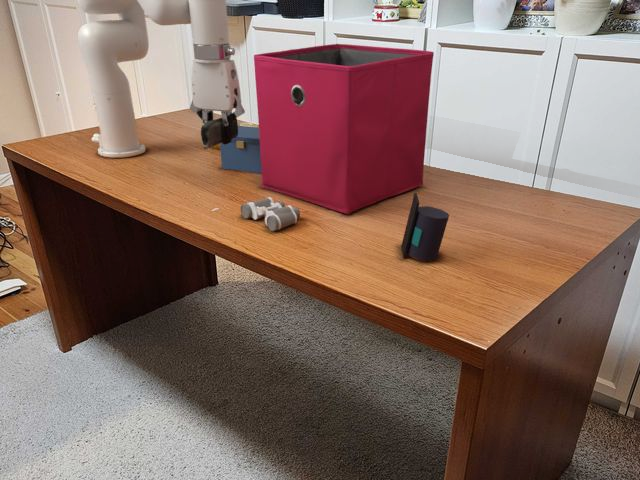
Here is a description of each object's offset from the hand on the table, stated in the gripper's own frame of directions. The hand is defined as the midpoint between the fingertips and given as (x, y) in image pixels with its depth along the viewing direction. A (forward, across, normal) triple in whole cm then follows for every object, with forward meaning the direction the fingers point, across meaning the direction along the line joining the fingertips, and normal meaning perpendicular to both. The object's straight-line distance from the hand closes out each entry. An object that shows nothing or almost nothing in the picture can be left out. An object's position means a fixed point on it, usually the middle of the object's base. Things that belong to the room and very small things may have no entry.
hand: (219, 141), depth 135 cm
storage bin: (+10, -27, -7) cm, 30 cm away
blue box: (+10, 0, -15) cm, 18 cm away
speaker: (+10, -53, +24) cm, 59 cm away
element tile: (+10, +10, -32) cm, 35 cm away
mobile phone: (0, 0, 0) cm, 0 cm away
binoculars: (+10, -21, +18) cm, 29 cm away
